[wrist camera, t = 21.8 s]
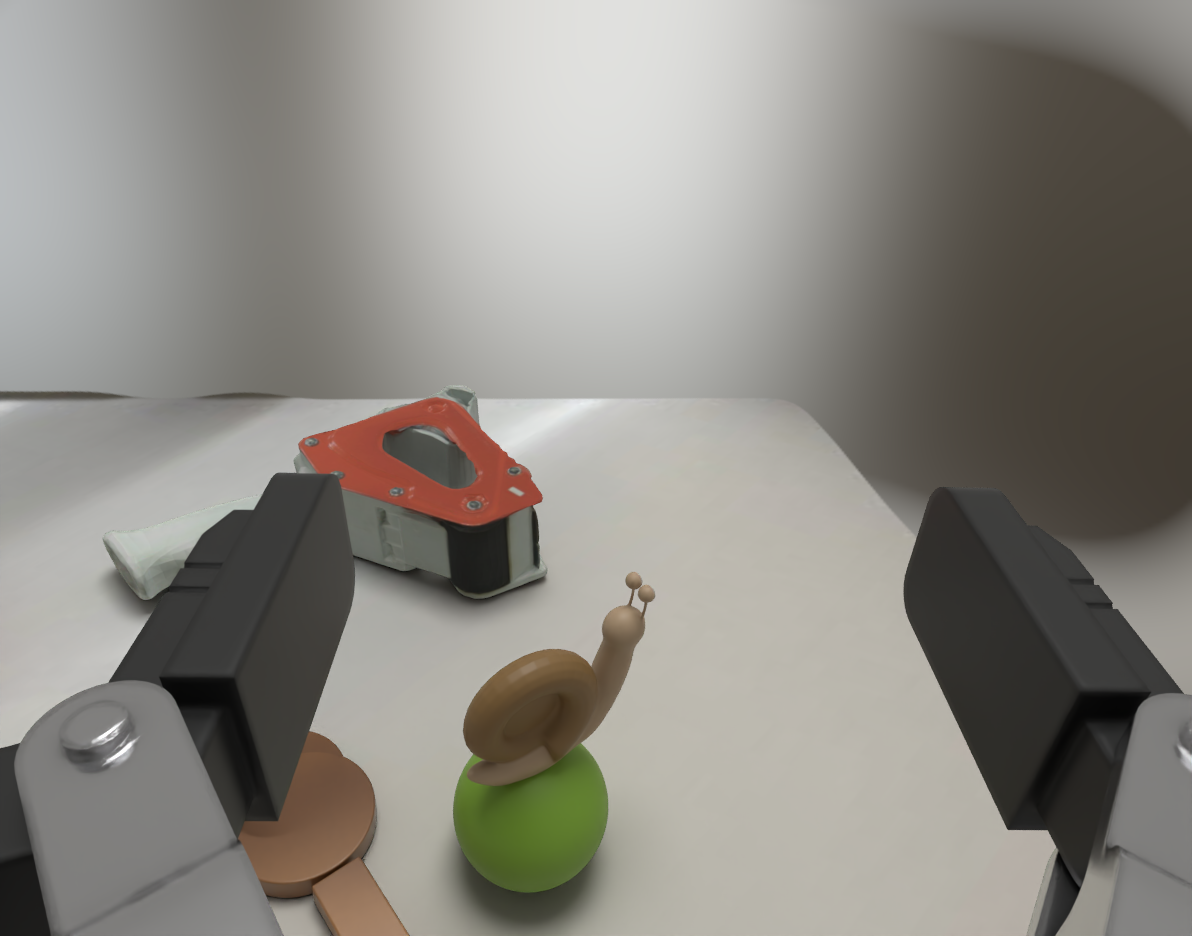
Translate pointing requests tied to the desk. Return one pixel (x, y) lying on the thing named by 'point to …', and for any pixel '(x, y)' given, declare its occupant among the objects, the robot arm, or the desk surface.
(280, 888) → the spoon
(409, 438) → the tape dispenser
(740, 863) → the desk surface
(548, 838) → the snail figurine
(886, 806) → the desk surface
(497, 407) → the desk surface
